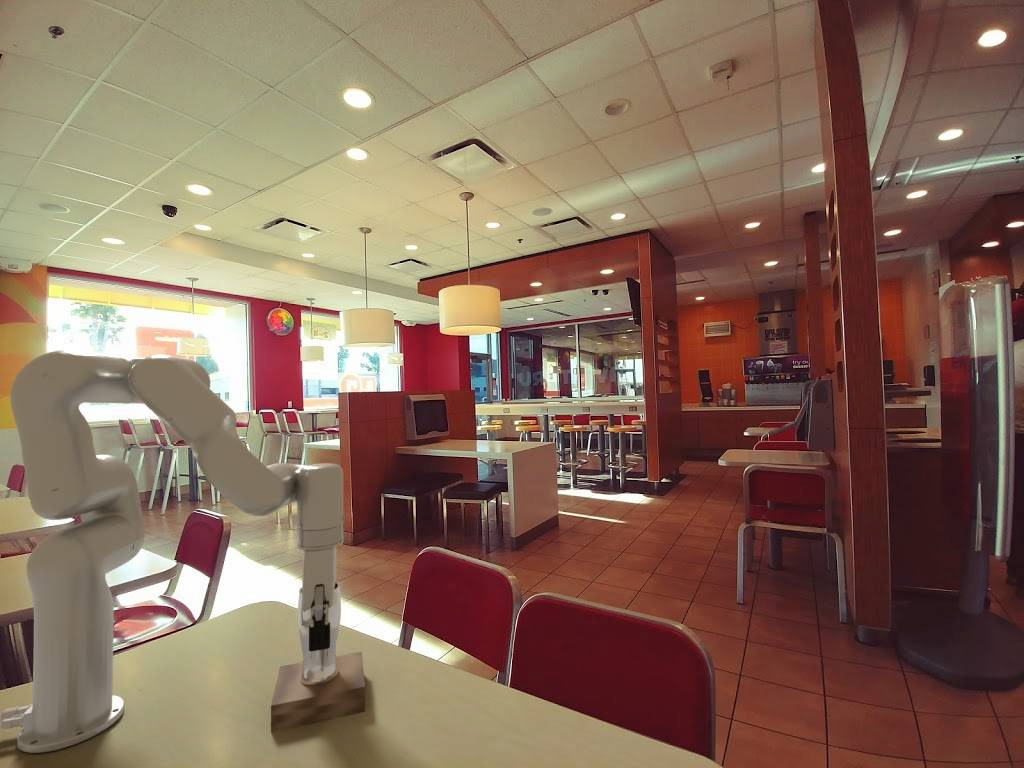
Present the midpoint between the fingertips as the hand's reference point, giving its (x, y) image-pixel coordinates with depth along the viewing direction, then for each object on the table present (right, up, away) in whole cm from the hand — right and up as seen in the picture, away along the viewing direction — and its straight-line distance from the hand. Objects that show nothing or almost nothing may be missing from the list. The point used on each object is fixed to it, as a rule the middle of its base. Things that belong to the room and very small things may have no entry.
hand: (320, 635), depth 83 cm
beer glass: (0, -7, 0) cm, 7 cm away
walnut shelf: (0, -11, 0) cm, 11 cm away
